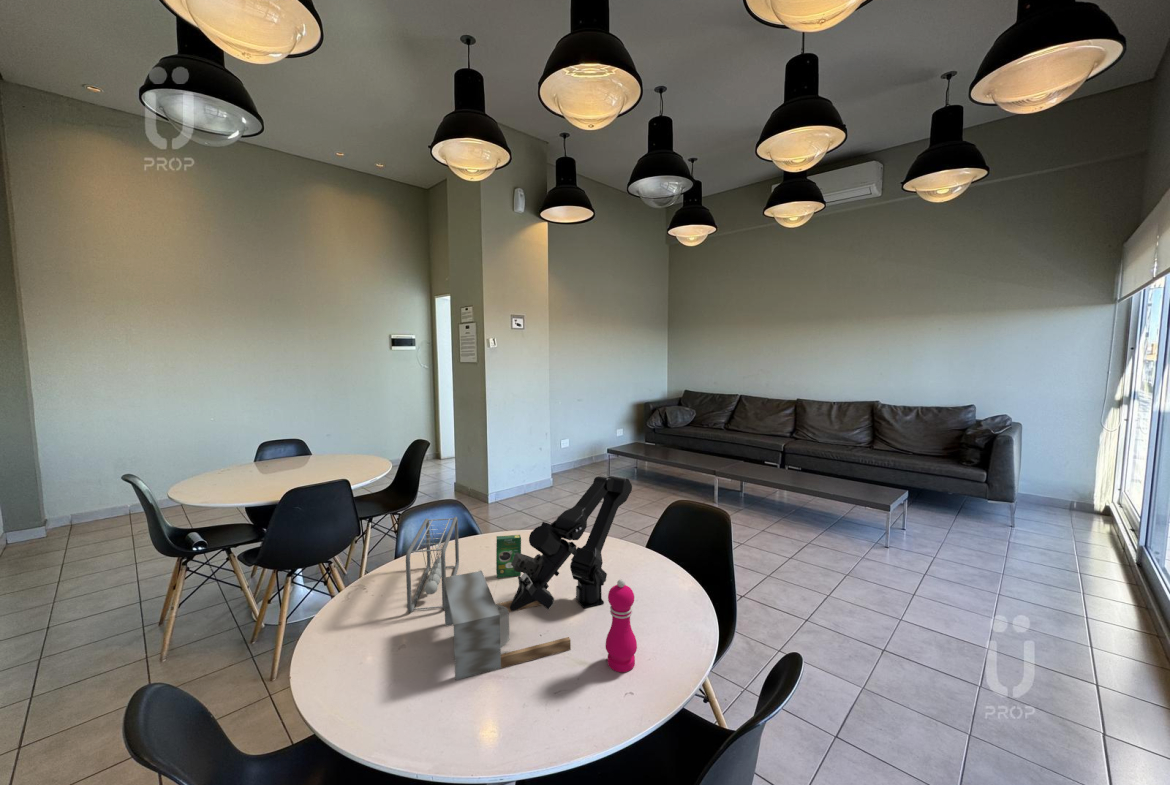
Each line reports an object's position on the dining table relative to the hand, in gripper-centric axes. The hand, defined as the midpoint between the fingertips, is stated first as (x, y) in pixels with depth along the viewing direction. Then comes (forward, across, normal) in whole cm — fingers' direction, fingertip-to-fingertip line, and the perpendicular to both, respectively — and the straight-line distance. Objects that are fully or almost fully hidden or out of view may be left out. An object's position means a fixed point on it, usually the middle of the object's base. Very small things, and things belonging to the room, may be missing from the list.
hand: (511, 609), depth 116 cm
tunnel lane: (+6, 0, +3) cm, 7 cm away
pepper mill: (-10, +21, +20) cm, 30 cm away
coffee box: (0, -32, +10) cm, 33 cm away
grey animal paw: (+10, 0, 0) cm, 10 cm away
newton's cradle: (+16, -33, -6) cm, 37 cm away
